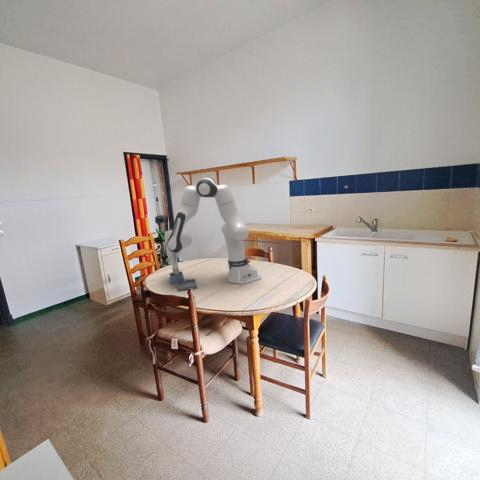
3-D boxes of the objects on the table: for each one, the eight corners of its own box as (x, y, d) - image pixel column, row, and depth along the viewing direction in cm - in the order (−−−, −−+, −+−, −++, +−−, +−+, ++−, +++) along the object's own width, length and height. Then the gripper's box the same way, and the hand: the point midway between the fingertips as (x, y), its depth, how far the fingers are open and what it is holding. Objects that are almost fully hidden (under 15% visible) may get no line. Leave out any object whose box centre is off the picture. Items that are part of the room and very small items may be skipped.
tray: (195, 281, 177) (195, 278, 176) (197, 288, 165) (197, 284, 165) (177, 284, 174) (177, 281, 173) (178, 291, 162) (177, 287, 162)
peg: (179, 279, 184) (178, 266, 181) (180, 281, 180) (178, 267, 178) (174, 280, 183) (172, 266, 180) (174, 282, 179) (172, 268, 177)
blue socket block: (183, 277, 186) (182, 271, 185) (184, 282, 178) (183, 275, 177) (170, 279, 184) (169, 273, 183) (170, 284, 176) (169, 277, 175)
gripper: (178, 255, 168) (181, 275, 171) (177, 248, 187) (179, 267, 190) (168, 256, 166) (171, 277, 169) (168, 249, 186) (171, 268, 189)
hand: (176, 271), depth 180 cm, fingers closed on peg, 4 cm apart
